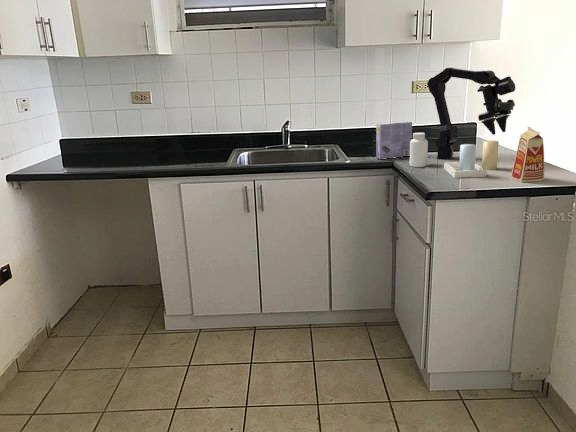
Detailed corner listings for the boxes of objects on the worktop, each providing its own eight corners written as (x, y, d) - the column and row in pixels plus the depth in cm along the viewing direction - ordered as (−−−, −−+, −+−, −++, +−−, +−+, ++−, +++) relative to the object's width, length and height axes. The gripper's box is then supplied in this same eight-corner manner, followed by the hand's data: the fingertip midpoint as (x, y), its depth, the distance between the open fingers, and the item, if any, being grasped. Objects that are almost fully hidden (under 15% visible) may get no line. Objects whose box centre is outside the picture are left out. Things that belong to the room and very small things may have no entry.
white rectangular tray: (443, 169, 217) (444, 162, 216) (472, 168, 216) (472, 161, 215) (454, 178, 198) (454, 171, 197) (485, 177, 197) (486, 170, 196)
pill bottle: (417, 168, 223) (418, 134, 219) (405, 165, 230) (406, 133, 226) (431, 165, 226) (431, 133, 222) (419, 163, 233) (419, 131, 229)
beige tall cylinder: (480, 170, 211) (481, 142, 207) (483, 167, 216) (484, 140, 212) (495, 171, 208) (497, 142, 204) (497, 168, 212) (499, 140, 209)
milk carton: (510, 178, 194) (513, 126, 189) (532, 176, 195) (537, 125, 189) (522, 182, 186) (526, 129, 180) (546, 181, 186) (551, 127, 181)
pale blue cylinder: (457, 175, 202) (458, 146, 198) (461, 172, 206) (462, 143, 203) (472, 176, 199) (474, 146, 195) (476, 173, 203) (477, 144, 200)
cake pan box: (408, 155, 257) (409, 120, 252) (413, 156, 252) (414, 121, 248) (375, 158, 252) (375, 123, 247) (380, 160, 247) (380, 124, 242)
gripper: (498, 94, 207) (506, 131, 207) (518, 91, 218) (526, 126, 219) (474, 102, 215) (482, 137, 216) (495, 99, 227) (502, 132, 228)
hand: (499, 133), depth 219 cm, fingers open, 9 cm apart
